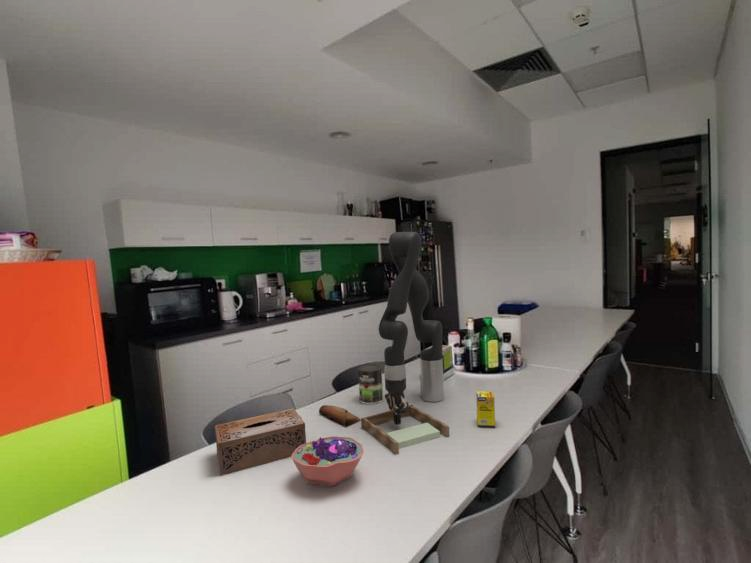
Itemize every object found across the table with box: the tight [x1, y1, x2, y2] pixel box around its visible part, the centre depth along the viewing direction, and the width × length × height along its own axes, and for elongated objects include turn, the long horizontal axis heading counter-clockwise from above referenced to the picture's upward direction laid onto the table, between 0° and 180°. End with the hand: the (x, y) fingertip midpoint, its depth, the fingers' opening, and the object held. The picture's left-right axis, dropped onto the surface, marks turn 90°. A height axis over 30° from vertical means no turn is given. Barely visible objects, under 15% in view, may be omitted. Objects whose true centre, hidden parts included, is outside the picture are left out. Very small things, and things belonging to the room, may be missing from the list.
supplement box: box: [475, 390, 496, 429], centre depth 140 cm, size 6×6×11 cm
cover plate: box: [385, 422, 441, 450], centre depth 133 cm, size 8×16×2 cm, turn 114°
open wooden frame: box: [360, 404, 450, 455], centre depth 138 cm, size 23×22×4 cm
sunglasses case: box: [318, 404, 361, 428], centre depth 153 cm, size 18×7×7 cm, turn 41°
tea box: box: [426, 344, 454, 382], centre depth 195 cm, size 15×10×15 cm
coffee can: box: [357, 364, 384, 405], centre depth 169 cm, size 10×10×14 cm
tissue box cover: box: [214, 407, 307, 477], centre depth 127 cm, size 26×14×10 cm, turn 116°
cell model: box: [290, 436, 365, 487], centre depth 111 cm, size 17×20×11 cm
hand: (397, 423), depth 141 cm, fingers closed
